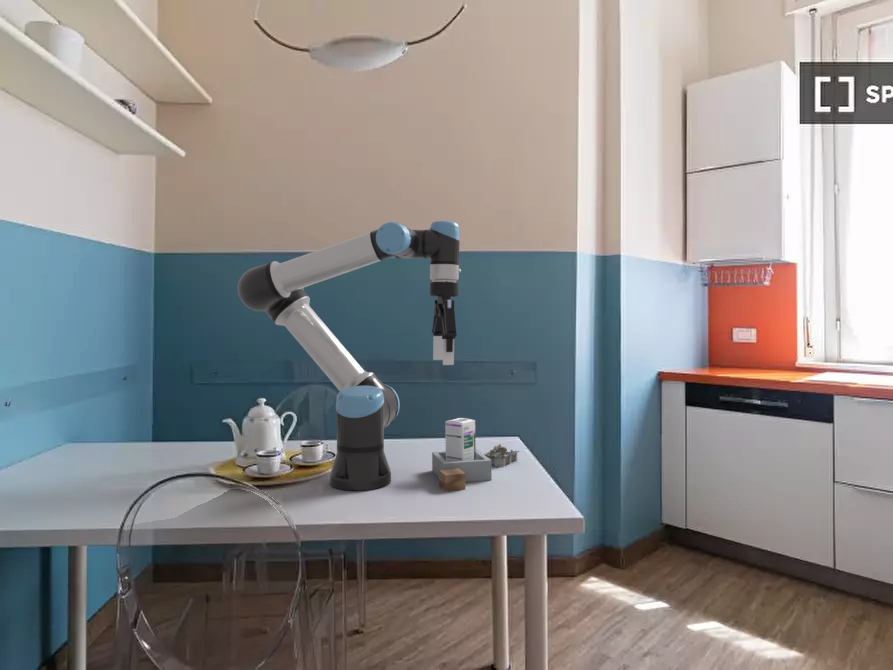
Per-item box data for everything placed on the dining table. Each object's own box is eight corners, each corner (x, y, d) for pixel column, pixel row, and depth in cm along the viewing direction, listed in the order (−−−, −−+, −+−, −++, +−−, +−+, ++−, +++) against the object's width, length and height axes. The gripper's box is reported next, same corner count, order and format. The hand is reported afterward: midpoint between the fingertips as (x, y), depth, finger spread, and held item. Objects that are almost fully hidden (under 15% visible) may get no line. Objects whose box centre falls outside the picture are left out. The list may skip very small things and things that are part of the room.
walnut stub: (445, 491, 151) (445, 475, 151) (439, 486, 156) (439, 470, 156) (465, 490, 153) (465, 473, 152) (458, 484, 157) (458, 468, 157)
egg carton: (500, 457, 186) (500, 443, 185) (522, 461, 181) (522, 447, 181) (478, 464, 177) (478, 449, 177) (500, 468, 173) (500, 453, 172)
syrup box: (463, 479, 161) (463, 422, 161) (444, 475, 165) (444, 420, 164) (476, 474, 166) (476, 419, 165) (458, 470, 169) (458, 416, 169)
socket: (443, 483, 158) (443, 463, 157) (432, 470, 170) (432, 452, 169) (491, 479, 161) (491, 460, 160) (477, 467, 173) (477, 449, 173)
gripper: (469, 280, 155) (467, 367, 156) (448, 282, 179) (447, 357, 180) (439, 279, 153) (437, 367, 155) (422, 282, 178) (421, 357, 179)
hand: (443, 362), depth 168 cm, fingers open, 13 cm apart
